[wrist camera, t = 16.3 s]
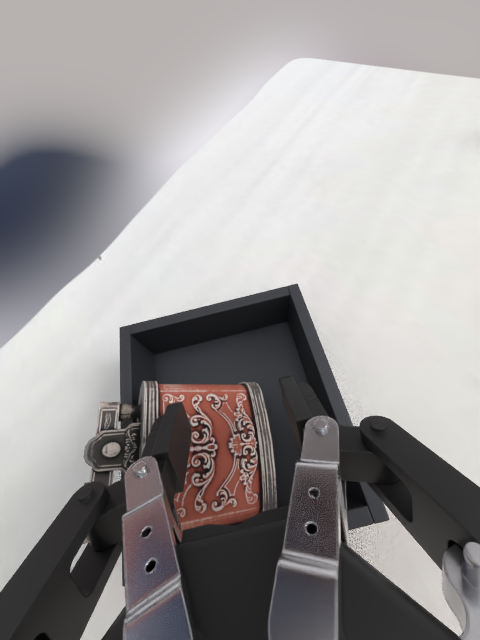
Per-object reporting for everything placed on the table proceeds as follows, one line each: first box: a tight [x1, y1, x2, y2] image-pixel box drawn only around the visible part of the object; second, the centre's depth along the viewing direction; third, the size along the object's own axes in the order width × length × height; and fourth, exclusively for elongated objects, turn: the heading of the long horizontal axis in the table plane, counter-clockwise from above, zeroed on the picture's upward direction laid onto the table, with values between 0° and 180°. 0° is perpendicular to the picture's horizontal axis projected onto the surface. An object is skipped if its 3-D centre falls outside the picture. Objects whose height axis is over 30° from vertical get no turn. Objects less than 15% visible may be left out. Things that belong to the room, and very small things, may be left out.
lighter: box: [83, 381, 277, 544], centre depth 16 cm, size 8×3×10 cm
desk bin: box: [120, 284, 389, 586], centre depth 19 cm, size 14×15×5 cm
